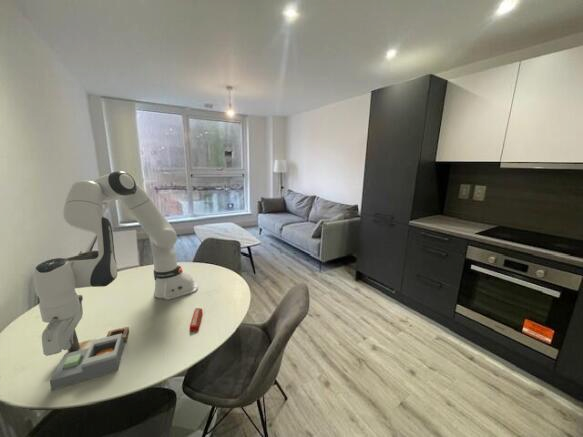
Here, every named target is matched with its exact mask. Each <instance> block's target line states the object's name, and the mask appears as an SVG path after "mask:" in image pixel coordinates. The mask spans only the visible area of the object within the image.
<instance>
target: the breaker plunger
mask: <svg viewBox="0 0 583 437" xmlns="http://www.w3.org/2000/svg"><path fill="white" fill-rule="evenodd" d="M112 351H114V349H113V348H106V349H103V350H101V351H100V352H98V353H97V354H96V356H98V355H101V354H105V353H109V352H112Z"/></svg>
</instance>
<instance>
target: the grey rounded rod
mask: <svg viewBox="0 0 583 437" xmlns="http://www.w3.org/2000/svg"><path fill="white" fill-rule="evenodd" d="M79 343H80V342H79V338H78V335H77V332H76V329H75V330H74V333H73V344H72V346H71V347H70V349H68V352H69V353H71V352H75V351H77V350H79V349H80V345H79Z"/></svg>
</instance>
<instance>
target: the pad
mask: <svg viewBox="0 0 583 437" xmlns="http://www.w3.org/2000/svg"><path fill="white" fill-rule="evenodd" d="M93 340H97V338H93V339H90V340H89V339H88V340H86V341H85V340H84V341H80V342H79V345H80V349H79V350H83V349H87V348H89V347H90V345H91V342H92V341H93ZM79 350H77V351H79ZM67 353H69V352H68V350H65V353H64V355H65V354H67Z"/></svg>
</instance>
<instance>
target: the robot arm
mask: <svg viewBox="0 0 583 437" xmlns="http://www.w3.org/2000/svg"><path fill="white" fill-rule="evenodd" d="M118 200H119V201H121V202H122V203H123V205H124V206H125V207H126V209H127V210H128V211H129V213H131V215H132V216H133V217H134V219H135V220H136V221H137V223H138V224H139V225H140V226H141V228H142V229H143V231H144V232H145V233H146V234H147V236H148V238H149V245H150V248H151V254H152V260H153V262H152V263H153V279H154V283H155V284H154V292H153V296H154V297H155V298H158V299H162V300H166V301H170V300H172V299H175V298H178V297H182V296H186V295H188V294H189V295H190V294H192V293H195V292H197V290H198V288H199V284H198V282H197V281H196V280H194V279H193V277H192V276H191V274H189V273H187V272H184V271H183V268H182V266H181V265H180V264H179V265H178V262H177V253H176V248H175V244H176V243H177V241H178V235H177V231H176V230H175V229H174V227H173V226H172V225H171V224H170V222H169V221H168V219H166V217H165V216H164V215H163V213H162V212H161V210H159V208H158V206H157V205H156V204H155V202H154V201H153V200H152V198H151V197H150V196H149V194H148V193H147V192H146V191H145V189H143V187H142V186H141V185H140V184H139V183H137V182H136V181H135V179H134V177H132V175H130V174H129V173H127V172H126V171H123V170H118V171H113V172H111V173H107V174H104V175H101V176H99V177H97V178H95V179H94V180H85V179H84V180H83V179H82V180H78V181H75V182H74V183H73V184H72V185H71V187H70V189H69V191H68V193H67V197H66V199H65V204H64V207H63V219H64V221H65V222H66V223H67V224H68V225H69V226H70V227H73V228H75V229H77V230H80V231H84V232H87V233H91V234H94V235H96V238H97V239H96V240H97V249H98V250H97V251H98V252H97V253H98V256H97V257H96V258H90V259H81V260H80V259H76V260H74V259H73V260H68V259H67V258H65V257H61V258H60V257H58V258H57V257H56V258H51V259H48V260H45V261H43V262H41V263H39V264H38V265H36V266H35V267H34V273H33V281H34V282H33V283H34V289H35V290H34V291H35V294H36V295H37V298H38V299H39V303H38V308H39V312H40V316H41V321H42V322H43V323H47V325H46V327H45V328H44V330H43V332H42V333H41V334H42V335H41V345H42V352H43V355H44V356H46V357H49V356H53V355H57V354H59V353H61V352H62V351H67V350H68V349H70V347H71V346H72V344H73V333H74V330H75V331H76V328H77V327H78V324H79V323H80V322H81V320H82V319H83V313H84V312H83V310H84V309H83V300H84V298H83V297H84V296H83V294H78V293H77V292H76V289H81V288H82V289H83V288H90V287H93V288H95V287H96V288H97V287H99V288H100V287H101V288H102V287H103V288H104V287H107V286H109V285H110V284H112V283H113V282H114V281H115V280H116V279H117V277H118V266H117V260H116V255H115V245H114V244H115V243H114V234H113V228H112V224H111V221H110V220H109V219H108V218H107V217H105V216H104V215H103V209H104V205H105V204H107V203H111V202H114V201H118Z"/></svg>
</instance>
